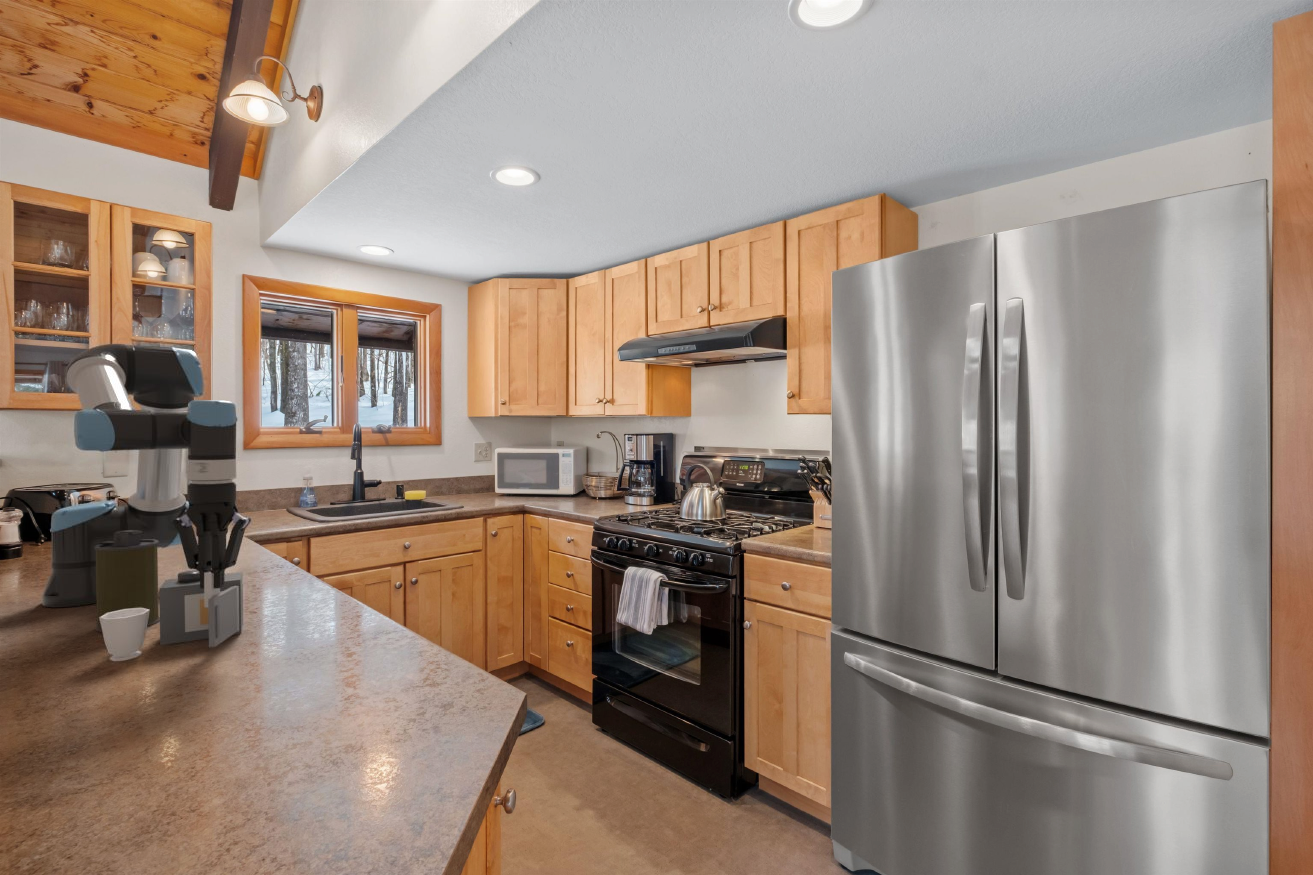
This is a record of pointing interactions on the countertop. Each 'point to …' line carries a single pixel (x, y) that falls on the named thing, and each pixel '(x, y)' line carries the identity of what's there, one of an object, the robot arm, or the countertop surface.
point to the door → (223, 615)
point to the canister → (127, 575)
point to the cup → (124, 632)
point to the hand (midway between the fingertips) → (212, 604)
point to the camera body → (190, 607)
